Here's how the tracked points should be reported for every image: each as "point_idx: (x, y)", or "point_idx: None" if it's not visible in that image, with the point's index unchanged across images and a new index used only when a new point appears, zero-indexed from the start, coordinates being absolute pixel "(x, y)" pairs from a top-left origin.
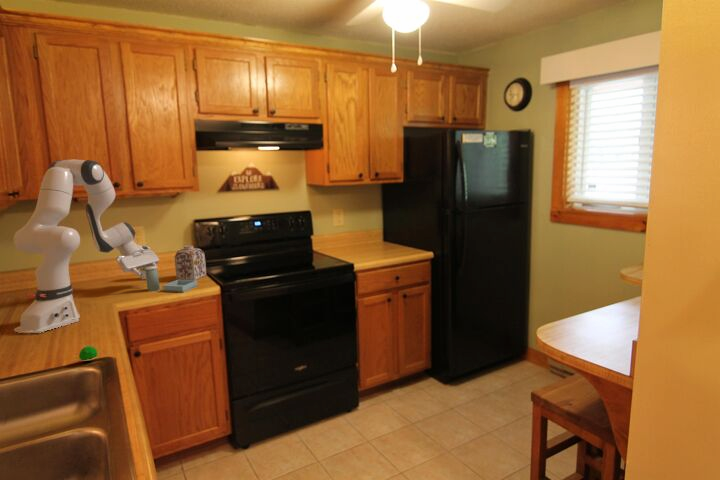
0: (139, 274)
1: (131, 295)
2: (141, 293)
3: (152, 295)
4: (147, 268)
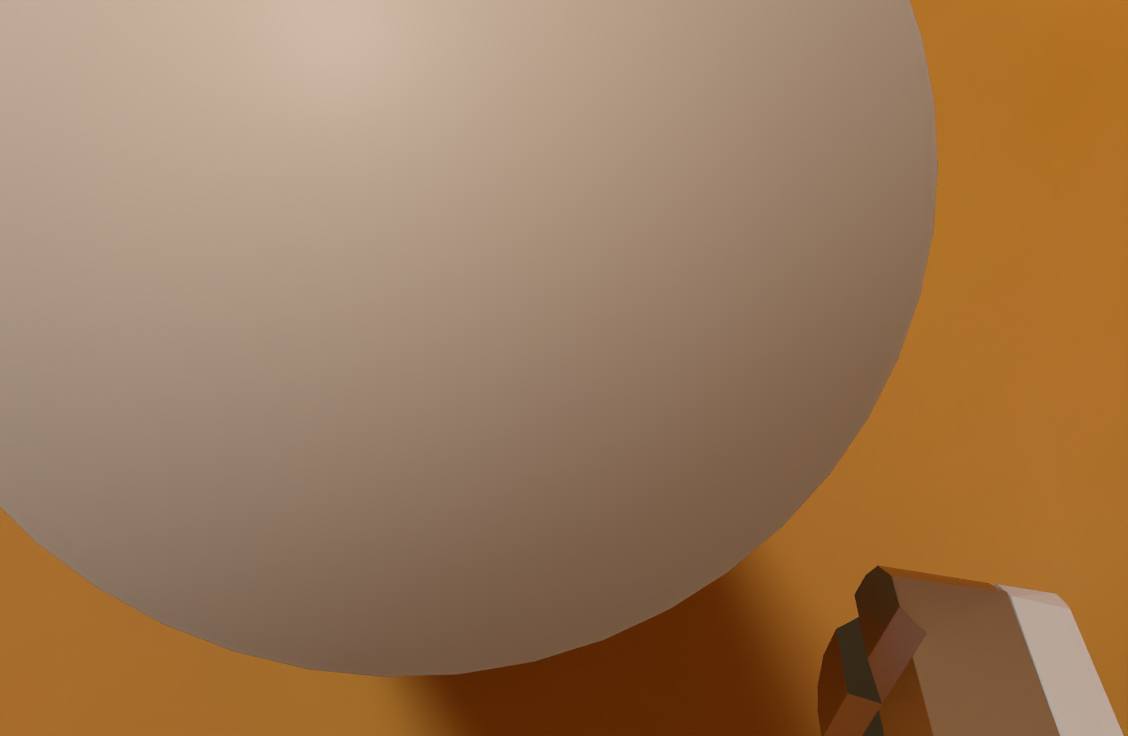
0: (1053, 653)
1: (1082, 635)
2: (860, 477)
3: (973, 15)
4: (856, 182)
